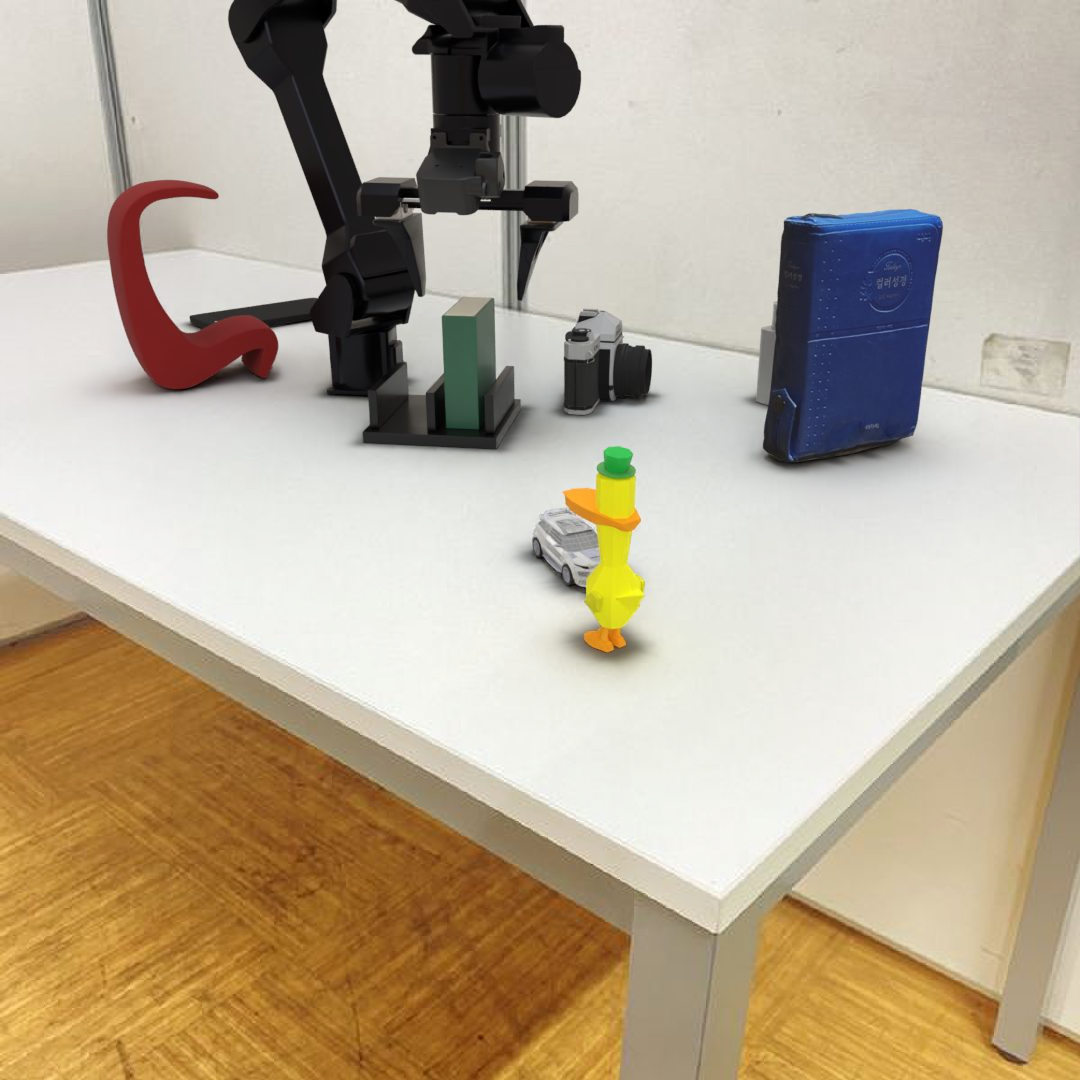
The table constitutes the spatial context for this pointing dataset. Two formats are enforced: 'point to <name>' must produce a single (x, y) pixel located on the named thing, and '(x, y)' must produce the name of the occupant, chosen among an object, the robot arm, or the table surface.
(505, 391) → the book rack
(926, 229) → the book
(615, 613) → the toy figure
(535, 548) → the toy car
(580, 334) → the camera
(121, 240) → the chair
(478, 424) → the small book
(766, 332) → the power adapter
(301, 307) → the cell phone
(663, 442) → the table surface
